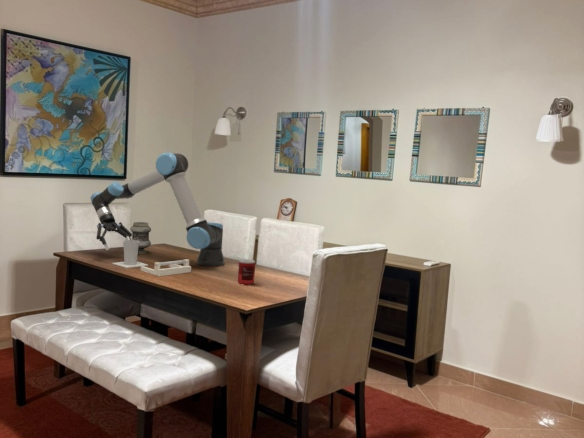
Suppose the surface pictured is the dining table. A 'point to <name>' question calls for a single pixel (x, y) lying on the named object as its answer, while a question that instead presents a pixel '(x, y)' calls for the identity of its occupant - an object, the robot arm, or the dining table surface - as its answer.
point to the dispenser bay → (169, 271)
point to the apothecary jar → (141, 235)
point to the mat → (130, 265)
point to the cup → (130, 251)
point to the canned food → (246, 271)
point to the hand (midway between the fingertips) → (119, 248)
